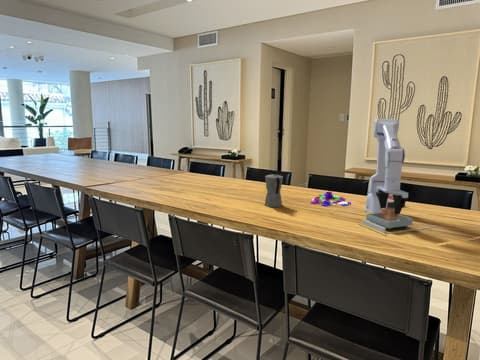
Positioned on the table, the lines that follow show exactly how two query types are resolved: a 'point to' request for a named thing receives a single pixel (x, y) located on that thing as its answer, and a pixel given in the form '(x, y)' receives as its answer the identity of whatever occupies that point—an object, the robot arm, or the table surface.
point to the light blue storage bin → (389, 224)
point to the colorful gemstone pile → (329, 200)
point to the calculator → (391, 202)
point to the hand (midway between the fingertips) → (390, 211)
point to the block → (388, 214)
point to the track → (383, 229)
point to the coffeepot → (273, 190)
